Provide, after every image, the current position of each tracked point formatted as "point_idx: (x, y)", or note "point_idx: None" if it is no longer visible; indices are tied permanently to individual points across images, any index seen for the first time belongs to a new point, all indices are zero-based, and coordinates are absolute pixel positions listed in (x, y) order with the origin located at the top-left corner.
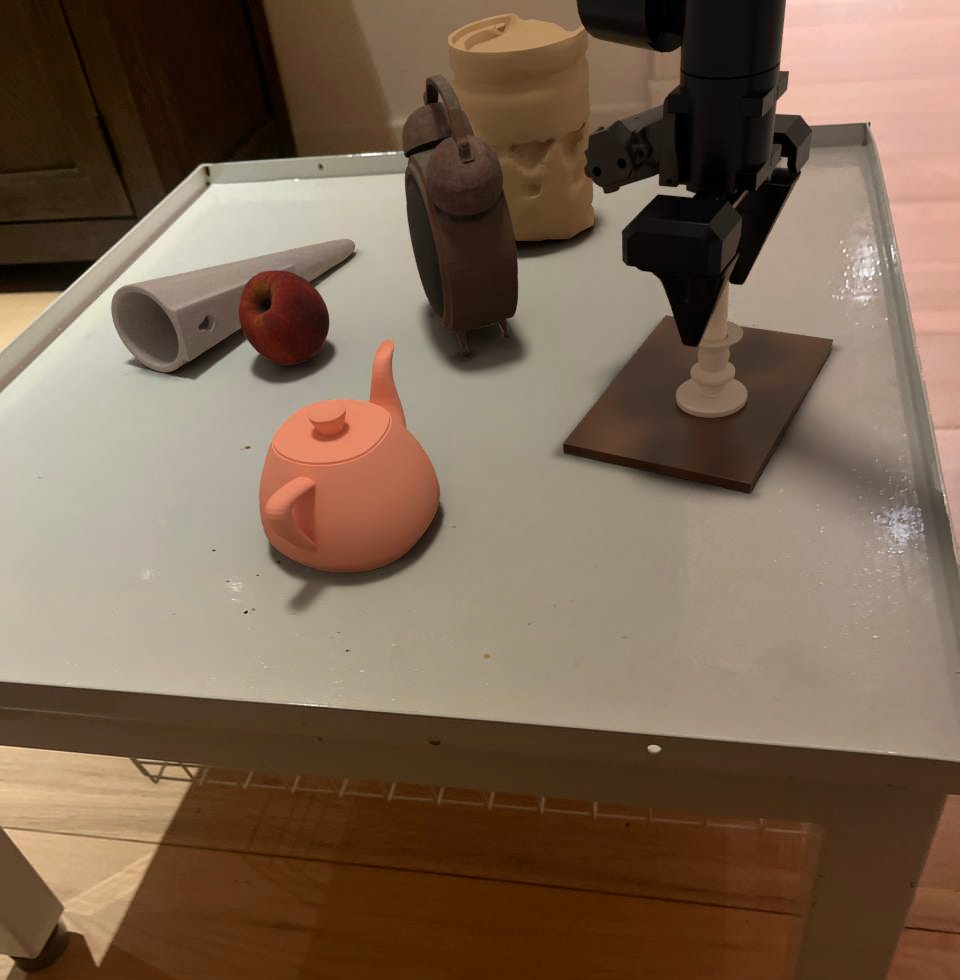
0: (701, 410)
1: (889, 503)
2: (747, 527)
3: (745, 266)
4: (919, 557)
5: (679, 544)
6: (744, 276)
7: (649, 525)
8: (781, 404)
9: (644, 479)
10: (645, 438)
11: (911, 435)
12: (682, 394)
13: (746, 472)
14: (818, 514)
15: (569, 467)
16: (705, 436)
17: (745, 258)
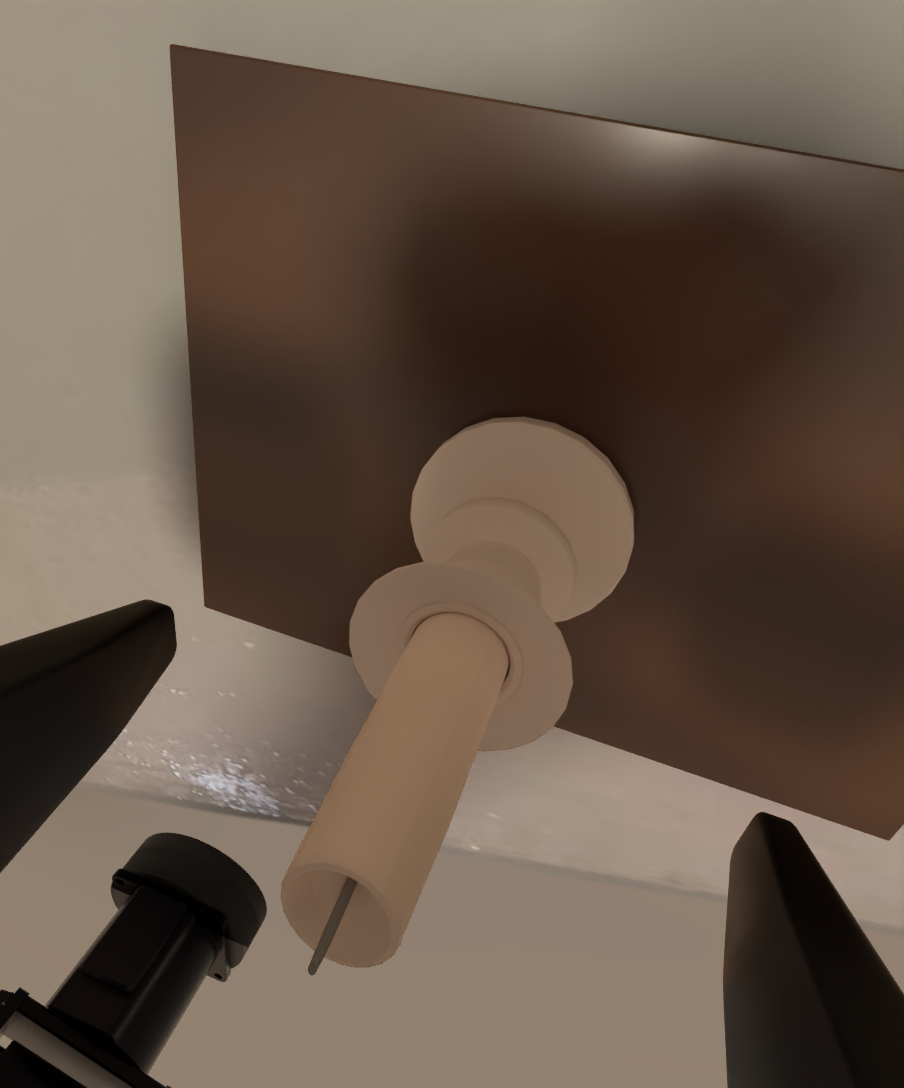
0: (415, 508)
1: (276, 786)
2: (131, 586)
3: (735, 957)
4: (177, 790)
5: (34, 470)
6: (729, 900)
7: (49, 403)
8: None
9: (178, 364)
10: (280, 350)
11: (476, 856)
12: (493, 446)
13: (235, 600)
14: (210, 693)
15: (140, 108)
16: (335, 514)
17: (749, 1005)
